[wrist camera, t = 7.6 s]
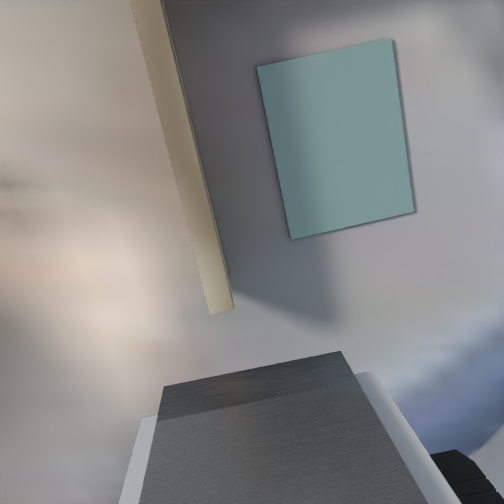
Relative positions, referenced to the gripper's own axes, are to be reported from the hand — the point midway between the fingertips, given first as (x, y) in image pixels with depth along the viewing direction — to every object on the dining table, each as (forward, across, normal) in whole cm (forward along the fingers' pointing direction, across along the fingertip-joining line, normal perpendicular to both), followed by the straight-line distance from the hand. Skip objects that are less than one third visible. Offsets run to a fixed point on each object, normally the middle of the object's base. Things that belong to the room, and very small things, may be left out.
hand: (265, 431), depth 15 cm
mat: (+23, +9, +7) cm, 26 cm away
